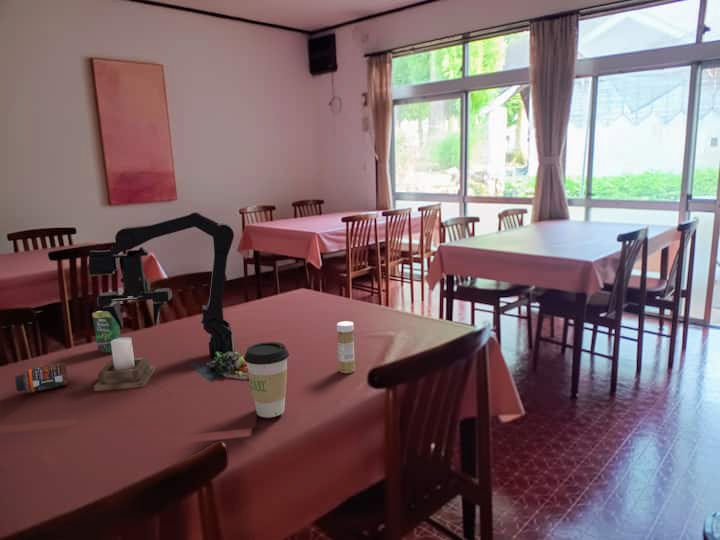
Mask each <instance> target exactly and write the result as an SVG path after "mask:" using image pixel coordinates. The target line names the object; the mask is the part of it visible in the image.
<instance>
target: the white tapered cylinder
mask: <svg viewBox="0 0 720 540" xmlns="http://www.w3.org/2000/svg"><path fill="white" fill-rule="evenodd" d="M133 347H134V346H133V339H132V337H129V336H124V337H123V336H121V338H117V339H114V340H112V341H111V348H112V353H111V354H112V360H113V363H114V370H127V369H135V363H134V358H135V355H134V350H133V349H134V348H133Z"/></svg>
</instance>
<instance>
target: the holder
mask: <svg viewBox="0 0 720 540" xmlns="http://www.w3.org/2000/svg"><path fill="white" fill-rule="evenodd" d="M134 363H135V369H127V370H114V363H113V359H110V361H108V362H107V364H105V366H103V368H102V369H101V370H100V371H99V372H98V373H97V377H98V378H97V379H98V382H96V384H94V385H93V390H94V392H101V391H110V390H111V391H113V390H123V389H126V390H127V389H133V388H144V387H146V384H147V383H148V381H149V380H150V378H151V377H152V375H153V373H154V372H155V370H156V367H155V365H150V364H151V363H150V357H149V356H147V357H146V356H145V357H134Z"/></svg>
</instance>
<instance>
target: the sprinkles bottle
mask: <svg viewBox="0 0 720 540" xmlns="http://www.w3.org/2000/svg"><path fill="white" fill-rule="evenodd" d="M336 332H337V349H338V351H337V353H338V356H337V357H338V372H340V373H342V374H351V373H354V372H355V371H356V366H355V364H356V362H355V358H356V356H355V340H354V339H355V338H354V332H355V328H354V322H353V321H349V320H345V321H339V322H337V323H336Z"/></svg>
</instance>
